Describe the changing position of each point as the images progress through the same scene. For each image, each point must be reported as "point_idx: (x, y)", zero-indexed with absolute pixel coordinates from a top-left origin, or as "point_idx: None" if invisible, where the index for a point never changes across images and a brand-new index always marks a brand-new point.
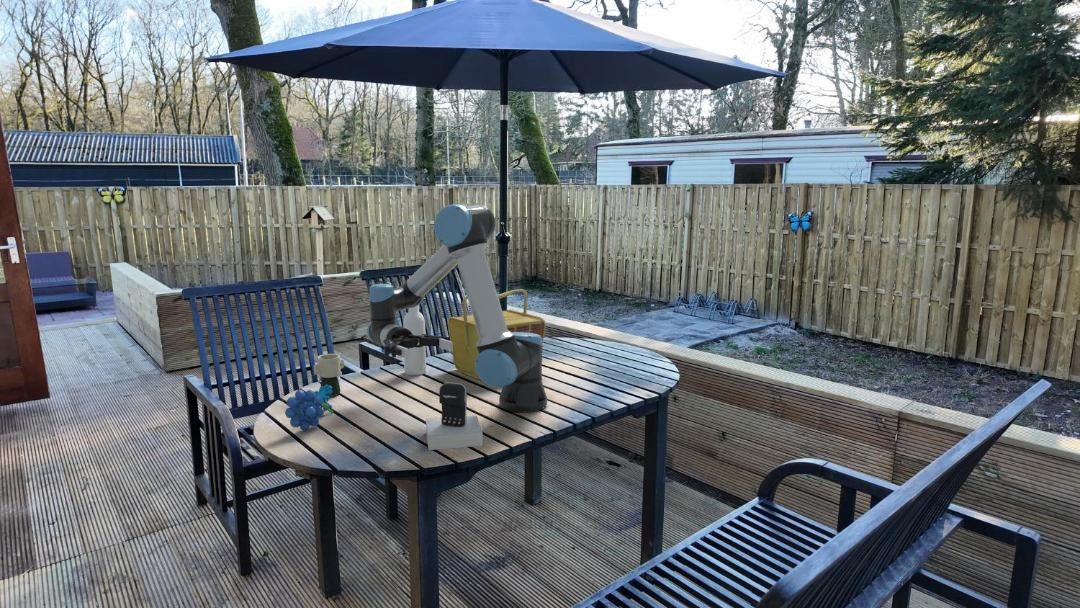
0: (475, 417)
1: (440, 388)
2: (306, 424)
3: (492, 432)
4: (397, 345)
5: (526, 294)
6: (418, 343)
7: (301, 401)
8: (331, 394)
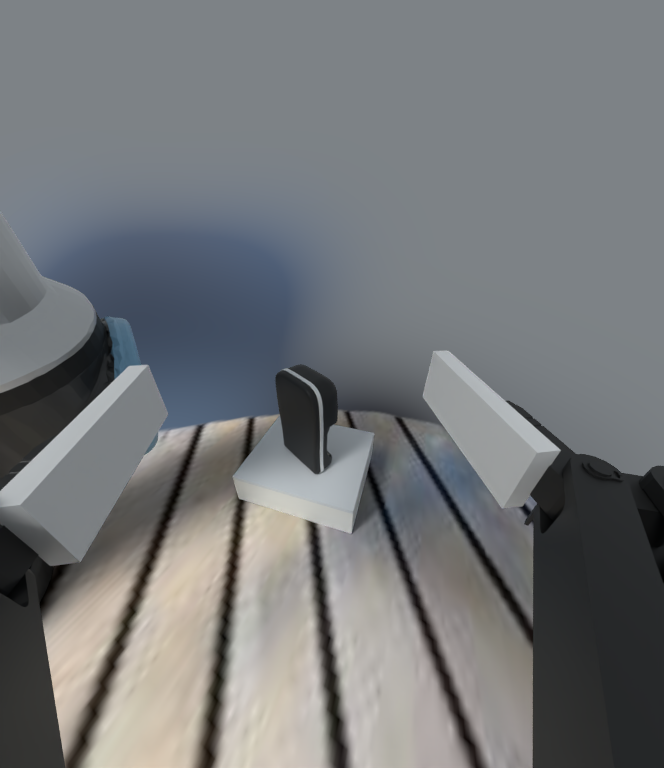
0: (243, 468)
1: (335, 387)
2: None
3: (227, 470)
4: (572, 521)
5: None
6: None
7: None
8: None
